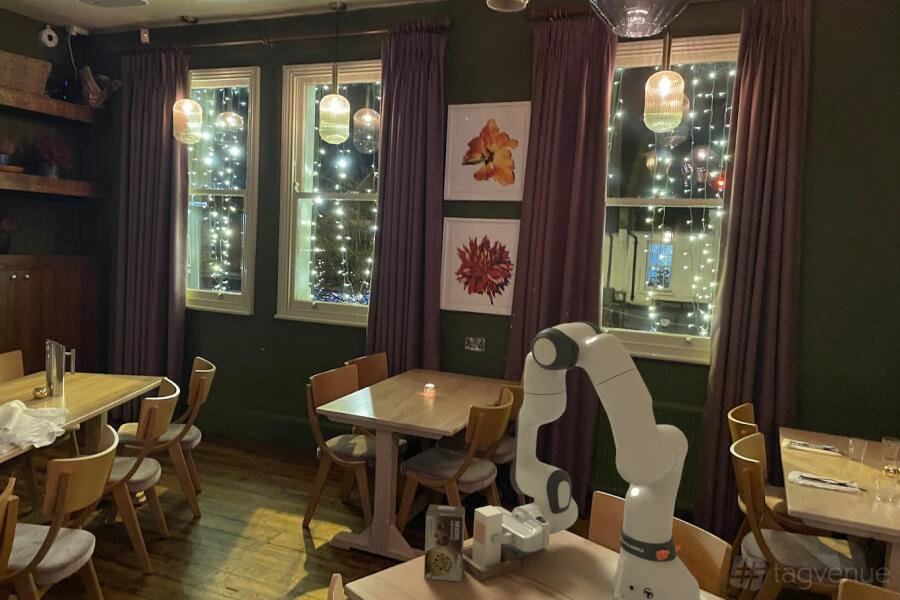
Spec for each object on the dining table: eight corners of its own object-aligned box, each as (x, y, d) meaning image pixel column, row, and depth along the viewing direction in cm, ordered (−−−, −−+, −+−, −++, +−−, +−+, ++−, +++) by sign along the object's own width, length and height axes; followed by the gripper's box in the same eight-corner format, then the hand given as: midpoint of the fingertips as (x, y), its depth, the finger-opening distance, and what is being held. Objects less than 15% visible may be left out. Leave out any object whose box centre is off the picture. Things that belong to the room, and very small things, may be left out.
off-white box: (499, 566, 164) (503, 512, 163) (483, 571, 161) (486, 516, 160) (487, 557, 168) (490, 505, 167) (471, 562, 165) (474, 509, 164)
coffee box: (462, 569, 162) (466, 506, 160) (460, 582, 156) (464, 517, 154) (426, 565, 163) (429, 503, 161) (422, 578, 157) (425, 513, 155)
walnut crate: (520, 568, 164) (520, 559, 163) (481, 581, 156) (482, 571, 156) (489, 548, 173) (490, 539, 173) (452, 559, 166) (452, 550, 166)
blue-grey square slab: (545, 549, 175) (545, 543, 175) (516, 558, 169) (517, 552, 169) (520, 534, 183) (520, 529, 183) (492, 542, 177) (492, 537, 177)
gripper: (501, 497, 180) (461, 507, 172) (554, 526, 163) (511, 538, 155) (500, 519, 180) (459, 530, 172) (552, 550, 164) (510, 564, 156)
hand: (484, 534), depth 164 cm, fingers closed on off-white box, 5 cm apart
